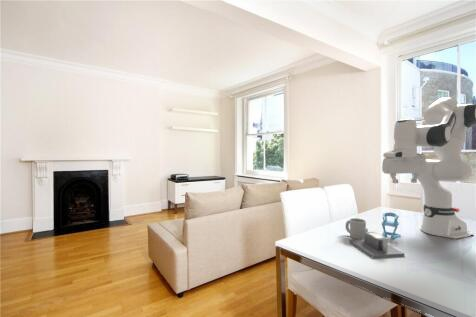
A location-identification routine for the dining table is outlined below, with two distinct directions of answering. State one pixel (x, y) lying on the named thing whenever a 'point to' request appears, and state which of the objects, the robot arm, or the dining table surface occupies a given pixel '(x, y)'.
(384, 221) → the chair
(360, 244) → the grey peg base
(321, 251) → the dining table surface
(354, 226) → the cup
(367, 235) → the block
